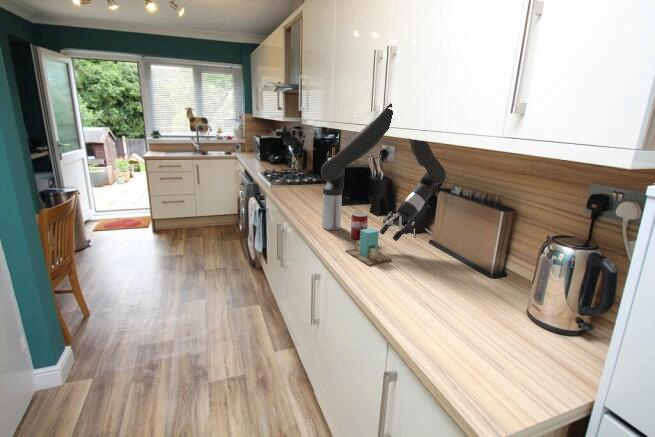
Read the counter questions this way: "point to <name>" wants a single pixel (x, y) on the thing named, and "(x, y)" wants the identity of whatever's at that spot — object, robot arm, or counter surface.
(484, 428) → the counter surface
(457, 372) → the counter surface
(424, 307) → the counter surface
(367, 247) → the notched post
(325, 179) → the robot arm
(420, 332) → the counter surface
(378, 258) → the rail board
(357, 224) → the soda can
